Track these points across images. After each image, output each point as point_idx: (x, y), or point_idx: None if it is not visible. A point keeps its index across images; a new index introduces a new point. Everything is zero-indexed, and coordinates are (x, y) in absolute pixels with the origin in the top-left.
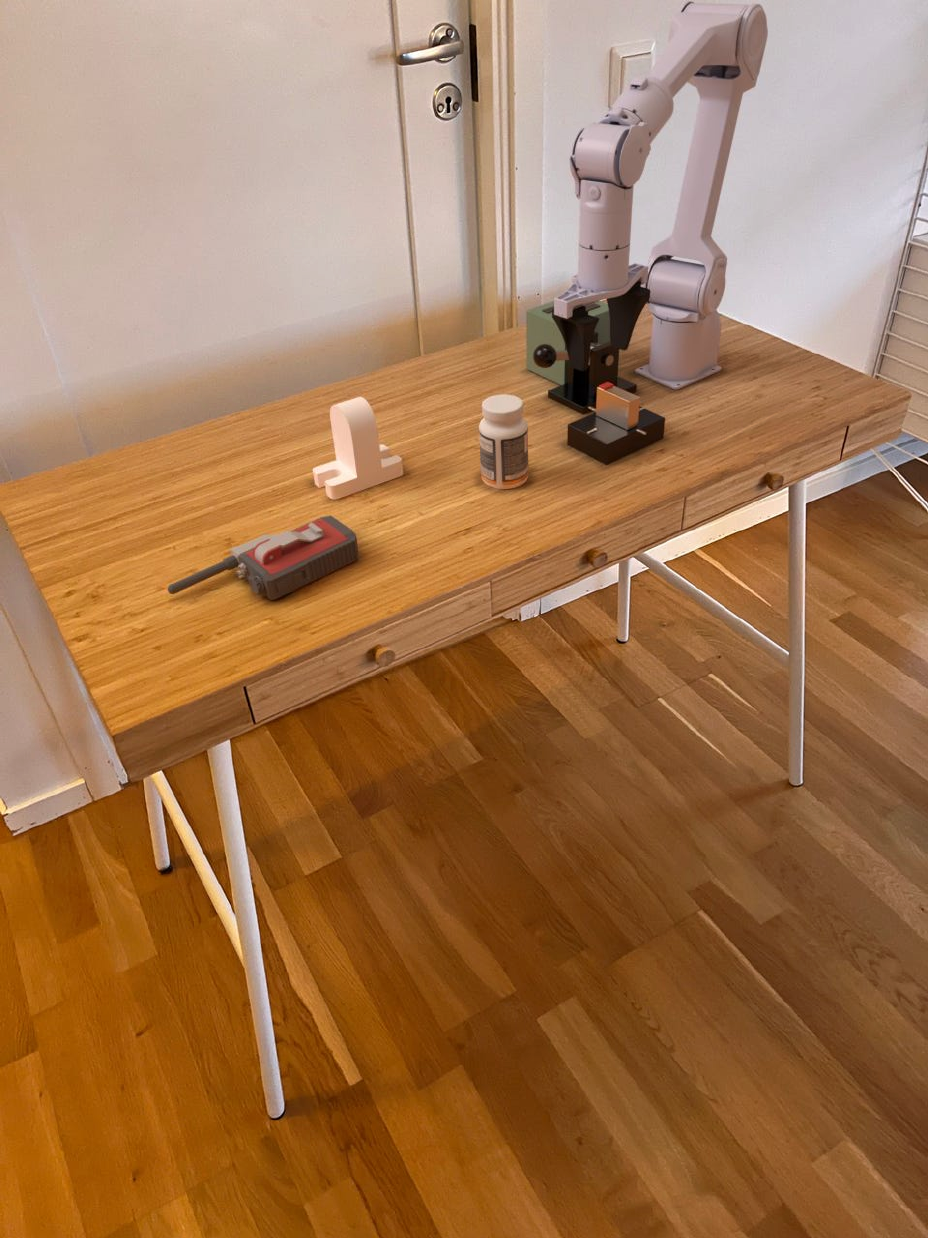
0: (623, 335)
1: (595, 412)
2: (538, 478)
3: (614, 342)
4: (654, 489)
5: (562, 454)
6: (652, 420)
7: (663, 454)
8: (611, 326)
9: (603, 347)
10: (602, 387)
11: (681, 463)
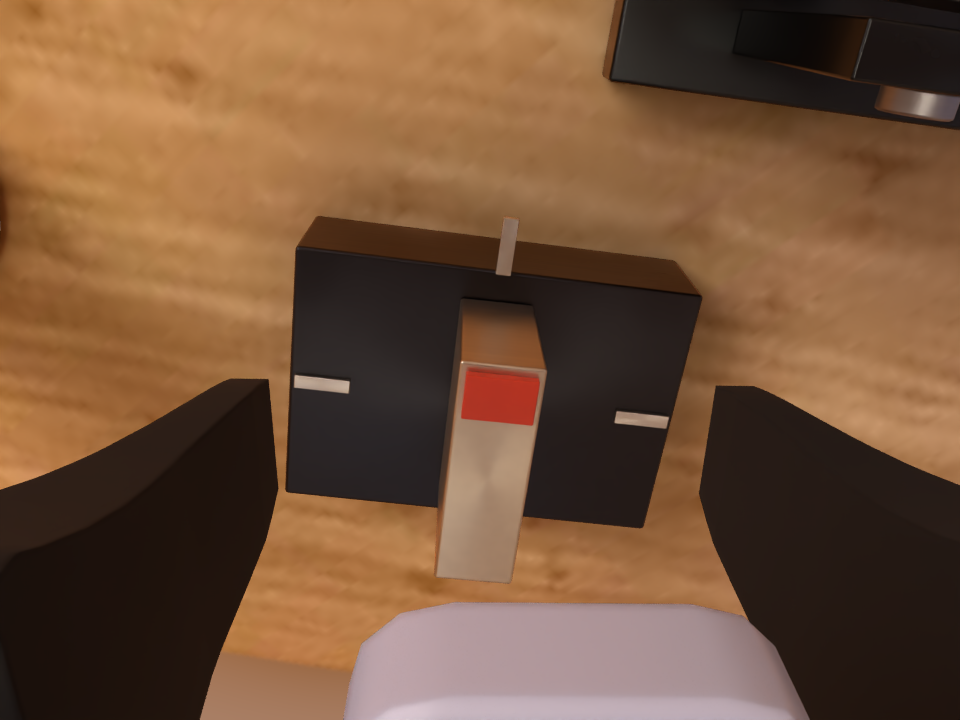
0: (738, 545)
1: (488, 274)
2: (29, 302)
3: (720, 431)
4: (307, 629)
5: (245, 249)
6: (587, 505)
7: (524, 530)
8: (781, 450)
9: (942, 85)
10: (463, 399)
11: (510, 602)
